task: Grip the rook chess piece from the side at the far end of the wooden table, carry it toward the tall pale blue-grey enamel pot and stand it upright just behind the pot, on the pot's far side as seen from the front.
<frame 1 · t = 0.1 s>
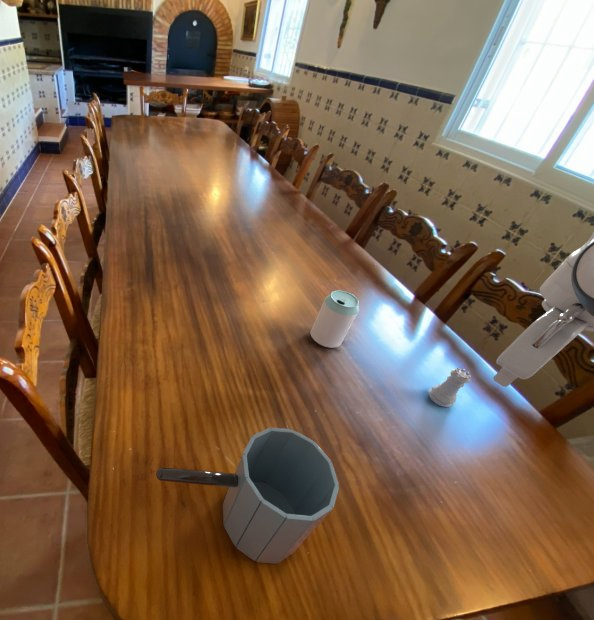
hand: (515, 369, 52), 19 cm above the table, tool pointing down, fingers open, 8 cm apart
can: (324, 339, 83), on the table
rook chess piece: (439, 399, 72), on the table
pot: (260, 518, 52), on the table
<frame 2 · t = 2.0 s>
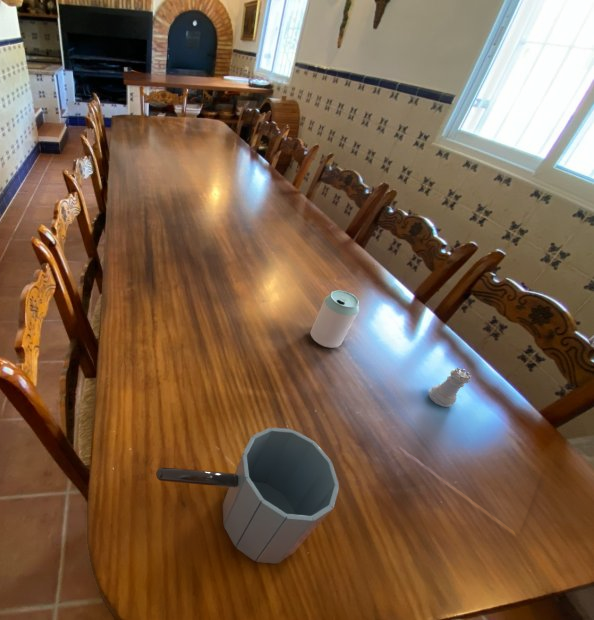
nothing on the table moved.
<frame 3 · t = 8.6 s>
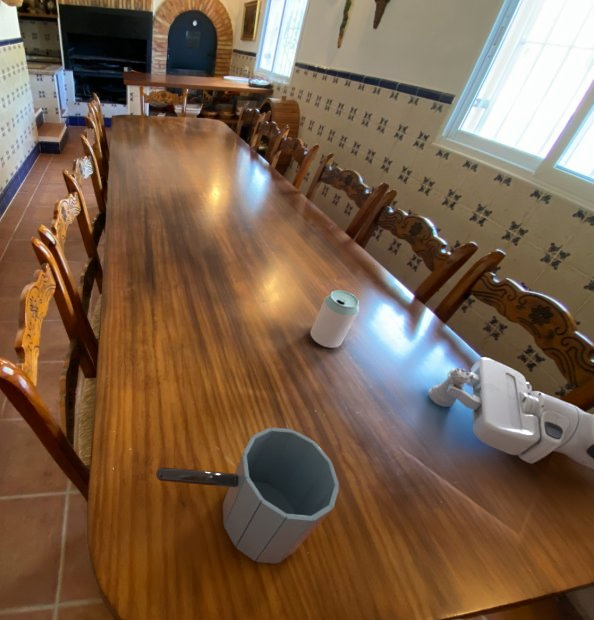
hand: (448, 380, 69), 5 cm above the table, tool horizontal, fingers closed on rook chess piece, 3 cm apart
rook chess piece: (439, 399, 72), on the table, touching gripper
everything else where it was.
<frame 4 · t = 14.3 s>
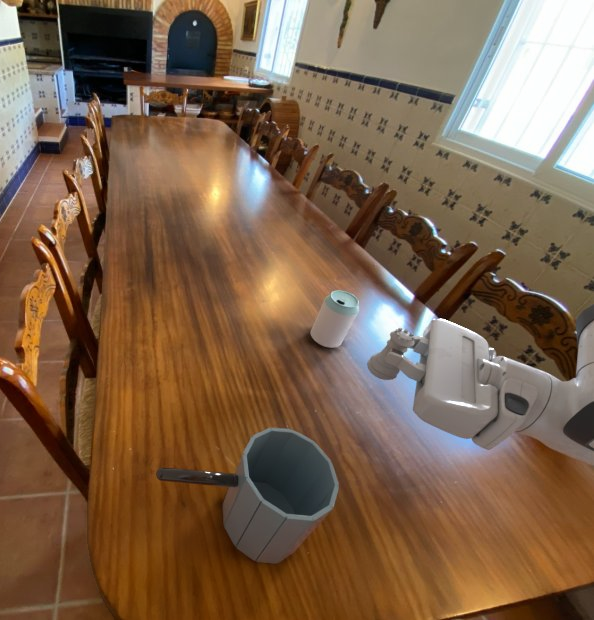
hand: (389, 346, 53), 20 cm above the table, tool horizontal, fingers closed on rook chess piece, 3 cm apart
rook chess piece: (380, 371, 56), point 14 cm above the table, touching gripper
everything else where it was.
when the fingers open (5 cm above the table, at t = 19.9 s): rook chess piece stays where it is, on the table.
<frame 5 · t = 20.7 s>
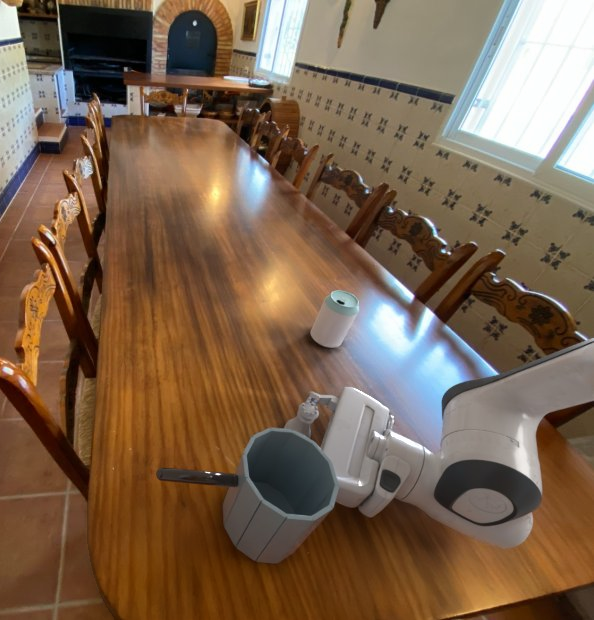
hand: (299, 414, 60), 5 cm above the table, tool horizontal, fingers open, 8 cm apart
rook chess piece: (295, 434, 63), on the table
everything else where it was.
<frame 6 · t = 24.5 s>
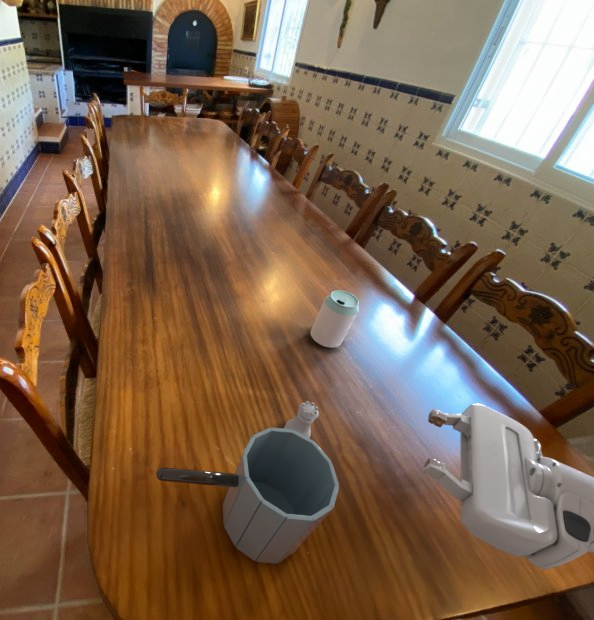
hand: (428, 438, 50), 12 cm above the table, tool horizontal, fingers open, 8 cm apart
nothing on the table moved.
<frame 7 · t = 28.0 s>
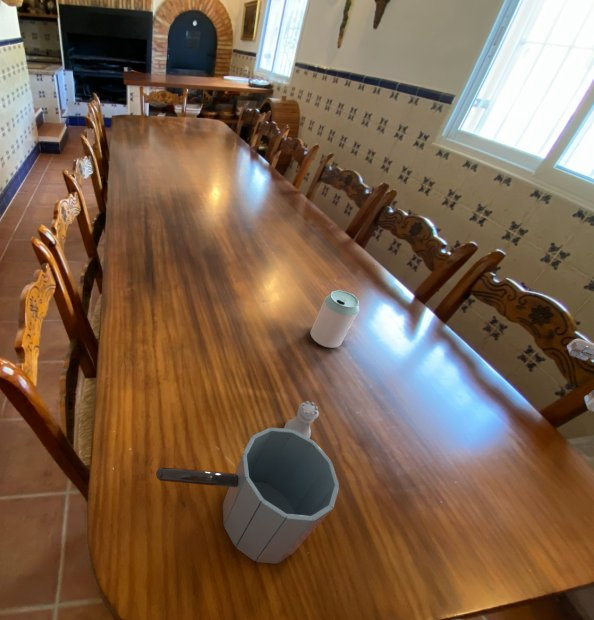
hand: (579, 370, 40), 28 cm above the table, tool horizontal, fingers open, 8 cm apart
nothing on the table moved.
at the end: rook chess piece inside the target area on the table beside the pot (0.1 cm from its centre), on the table; rook chess piece tilted 0°; the gripper is holding nothing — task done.
